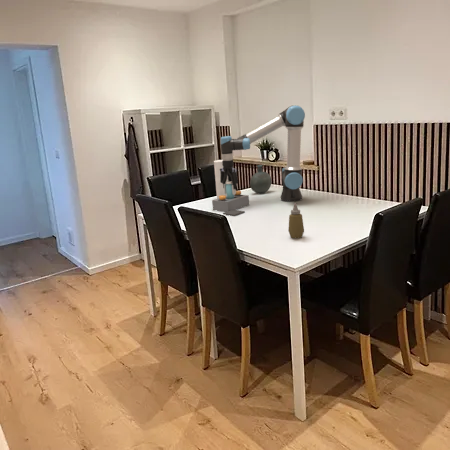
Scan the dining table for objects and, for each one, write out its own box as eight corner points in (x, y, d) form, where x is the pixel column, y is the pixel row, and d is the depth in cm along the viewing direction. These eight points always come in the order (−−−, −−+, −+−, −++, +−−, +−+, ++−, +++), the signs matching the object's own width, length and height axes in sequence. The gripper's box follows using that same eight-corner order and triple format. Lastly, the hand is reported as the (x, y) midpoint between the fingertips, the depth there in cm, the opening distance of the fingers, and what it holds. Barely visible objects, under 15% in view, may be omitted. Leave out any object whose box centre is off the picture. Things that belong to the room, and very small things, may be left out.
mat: (244, 212, 287) (244, 211, 287) (234, 216, 280) (234, 214, 280) (233, 211, 294) (233, 209, 293) (223, 214, 287) (223, 213, 286)
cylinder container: (228, 201, 324) (225, 160, 316) (215, 201, 326) (212, 161, 318) (230, 198, 333) (227, 158, 325) (218, 199, 335) (215, 159, 327)
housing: (249, 205, 307) (248, 195, 305) (228, 212, 291) (227, 202, 290) (234, 203, 316) (233, 193, 314) (212, 210, 301) (212, 200, 299)
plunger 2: (243, 203, 309) (242, 190, 307) (239, 204, 306) (238, 192, 304) (238, 202, 312) (237, 190, 310) (234, 204, 309) (233, 191, 307)
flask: (250, 192, 349) (248, 165, 343) (271, 191, 349) (270, 163, 343) (251, 195, 338) (249, 167, 332) (273, 193, 337) (271, 165, 332)
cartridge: (236, 207, 304) (234, 181, 299) (231, 208, 300) (229, 182, 295) (230, 206, 307) (228, 181, 303) (225, 208, 304) (223, 182, 299)
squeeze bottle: (287, 235, 231) (285, 202, 226) (302, 234, 232) (301, 201, 227) (290, 240, 223) (289, 205, 219) (306, 238, 224) (305, 204, 219)
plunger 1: (228, 208, 298) (227, 195, 296) (223, 210, 295) (222, 196, 292) (223, 207, 301) (222, 194, 299) (218, 209, 298) (217, 196, 295)
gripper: (213, 160, 299) (215, 193, 305) (235, 161, 286) (237, 195, 292) (220, 158, 304) (223, 191, 310) (242, 159, 291) (244, 193, 297)
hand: (230, 193), depth 301 cm, fingers open, 7 cm apart
